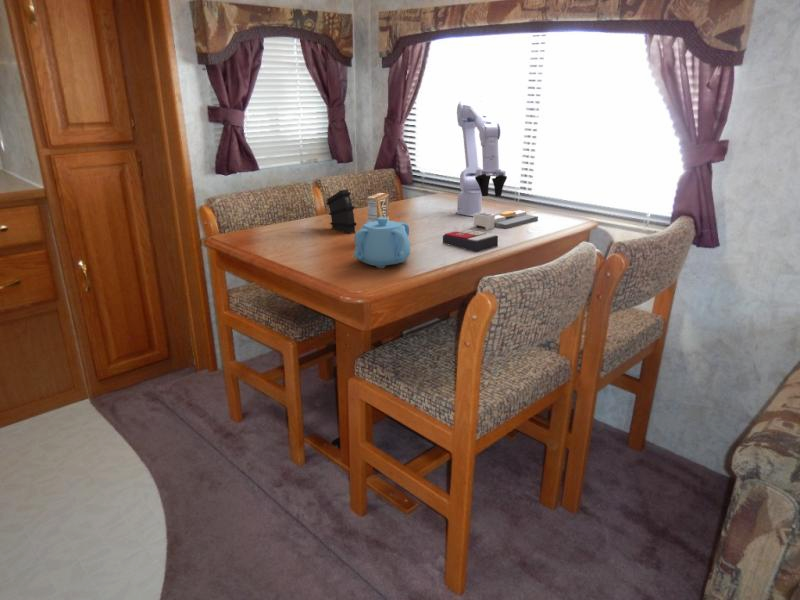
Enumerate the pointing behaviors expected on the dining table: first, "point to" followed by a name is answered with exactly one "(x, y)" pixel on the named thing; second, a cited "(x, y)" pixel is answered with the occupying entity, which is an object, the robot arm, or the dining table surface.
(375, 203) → the candy box
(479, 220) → the block
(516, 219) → the rail board
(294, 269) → the dining table surface
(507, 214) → the block
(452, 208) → the dining table surface
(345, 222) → the black ribbed block
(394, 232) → the decorative pot
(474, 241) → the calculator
